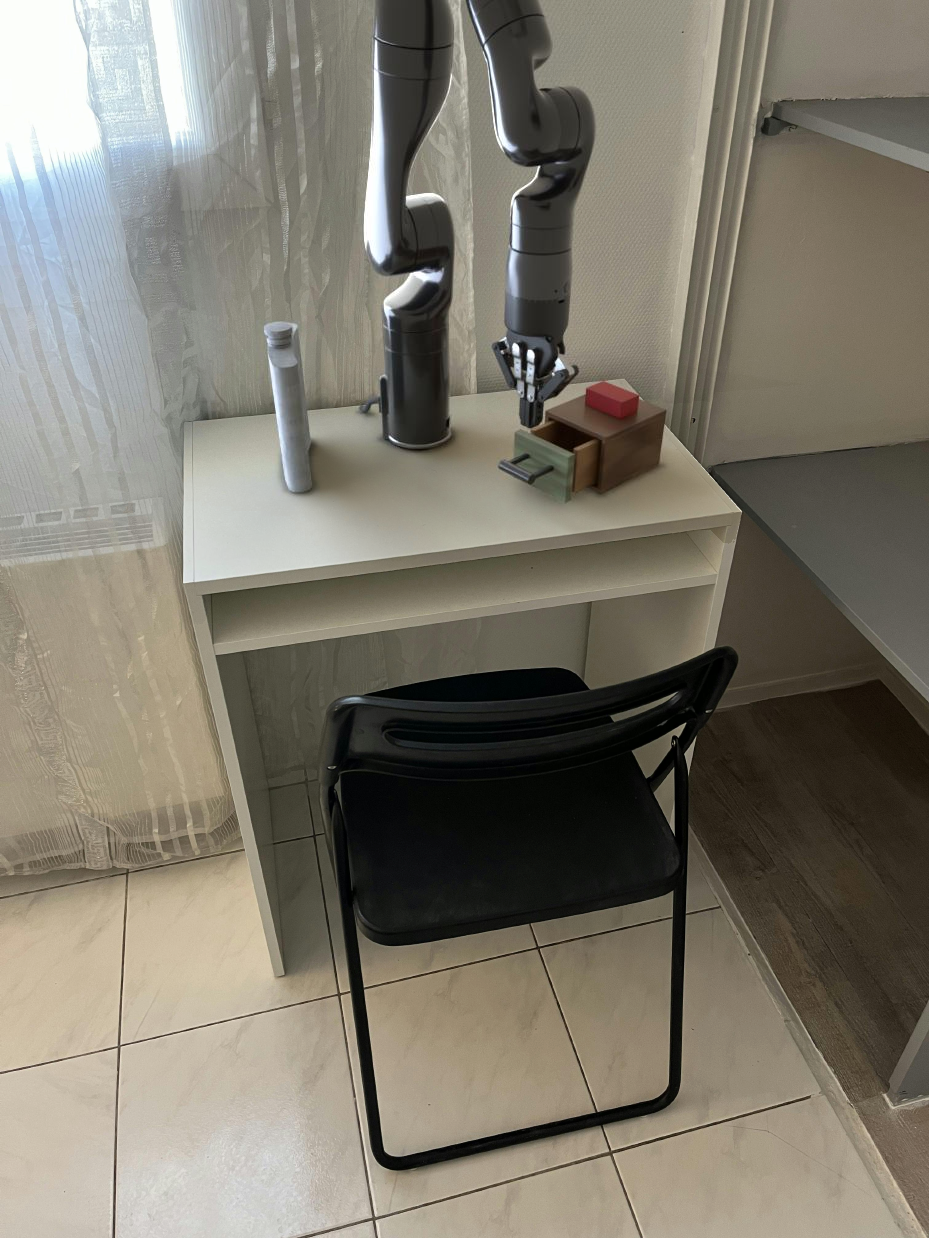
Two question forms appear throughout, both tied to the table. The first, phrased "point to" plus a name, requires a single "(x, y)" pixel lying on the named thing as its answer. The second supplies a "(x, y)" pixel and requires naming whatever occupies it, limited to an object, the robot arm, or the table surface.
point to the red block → (611, 399)
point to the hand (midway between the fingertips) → (530, 425)
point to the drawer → (555, 459)
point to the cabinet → (617, 438)
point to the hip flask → (290, 403)
